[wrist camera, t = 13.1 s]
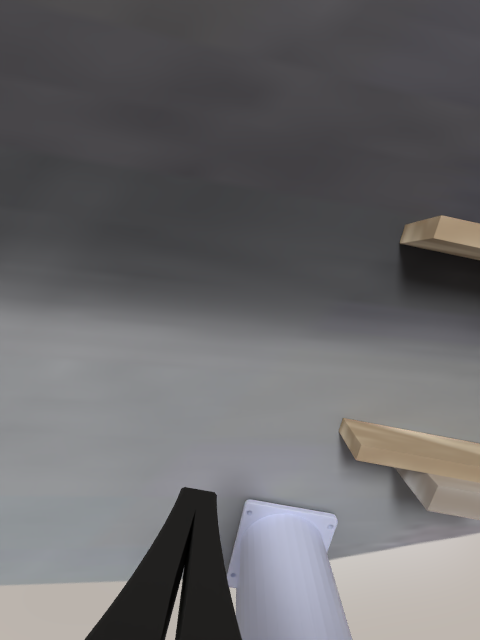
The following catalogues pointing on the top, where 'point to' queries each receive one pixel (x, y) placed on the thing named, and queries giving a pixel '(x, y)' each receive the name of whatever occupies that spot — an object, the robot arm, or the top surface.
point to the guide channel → (420, 448)
